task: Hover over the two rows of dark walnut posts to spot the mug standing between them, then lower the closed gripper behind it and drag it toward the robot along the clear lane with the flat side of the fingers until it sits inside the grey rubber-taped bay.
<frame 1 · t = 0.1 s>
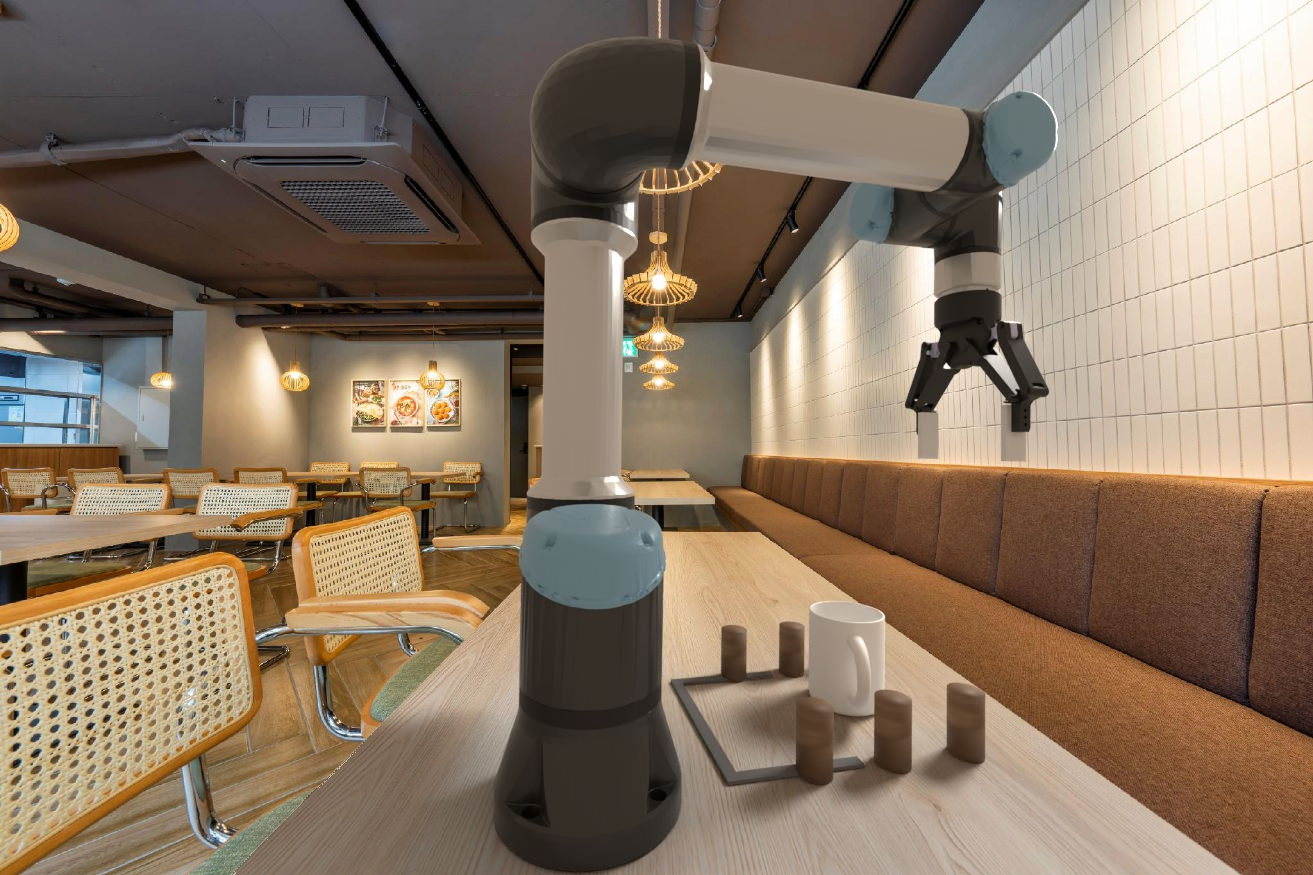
hand: (966, 460, 67), 28 cm above the table, fingers open, 13 cm apart
mug: (849, 710, 59), on the table
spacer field: (833, 709, 58), on the table
bay: (758, 717, 56), on the table
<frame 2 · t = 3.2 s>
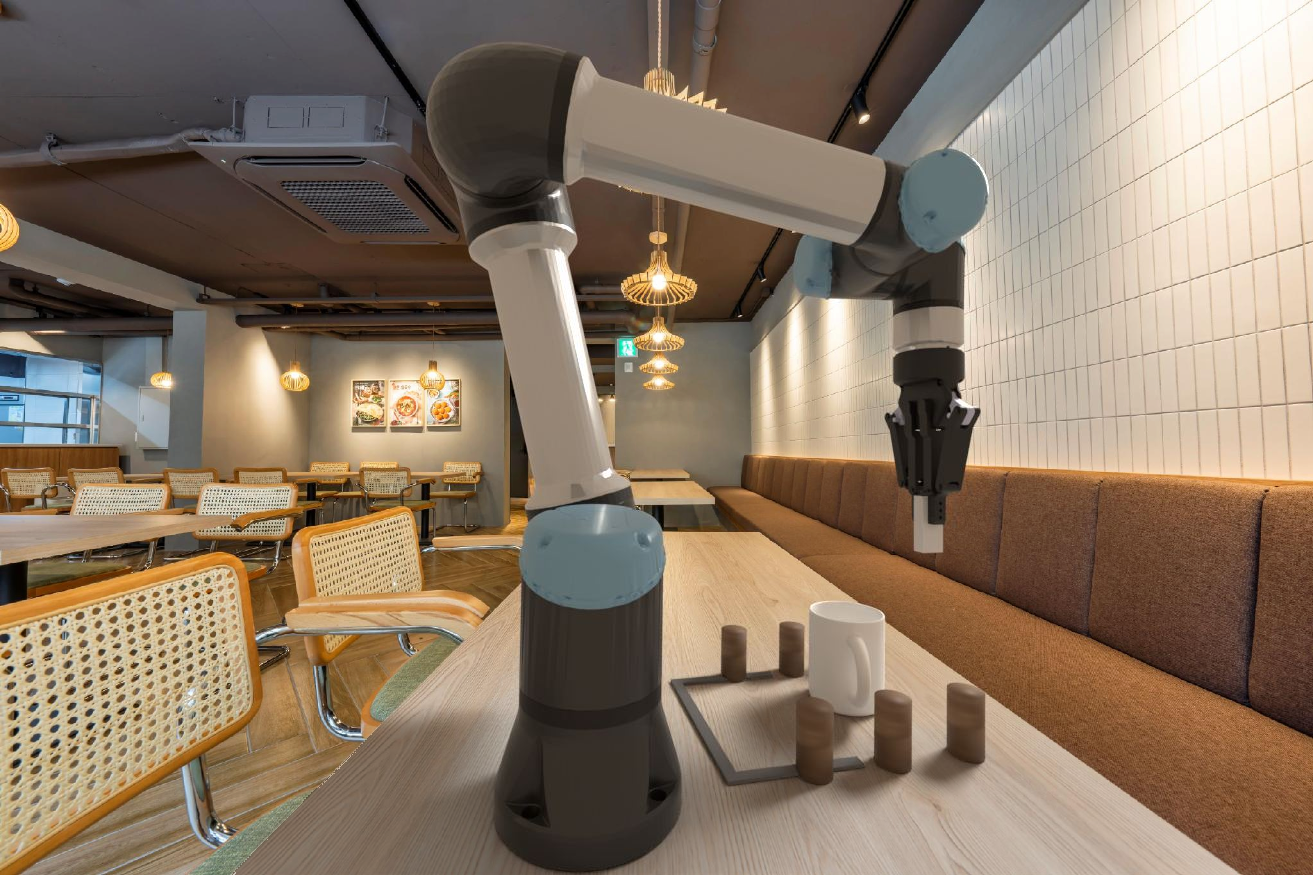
hand: (928, 551, 61), 17 cm above the table, fingers closed
nothing on the table moved.
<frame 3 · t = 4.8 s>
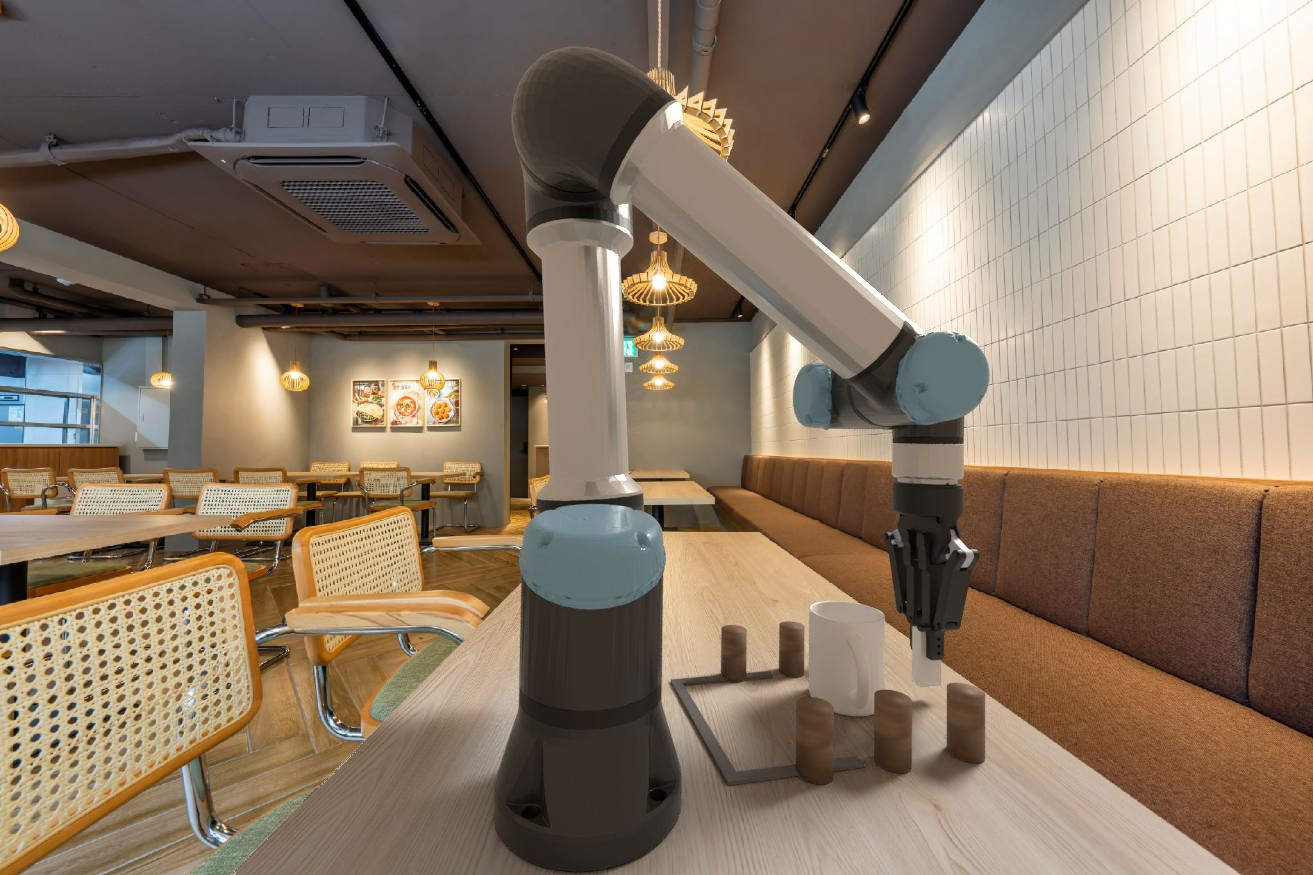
hand: (926, 683, 61), 2 cm above the table, fingers closed
nothing on the table moved.
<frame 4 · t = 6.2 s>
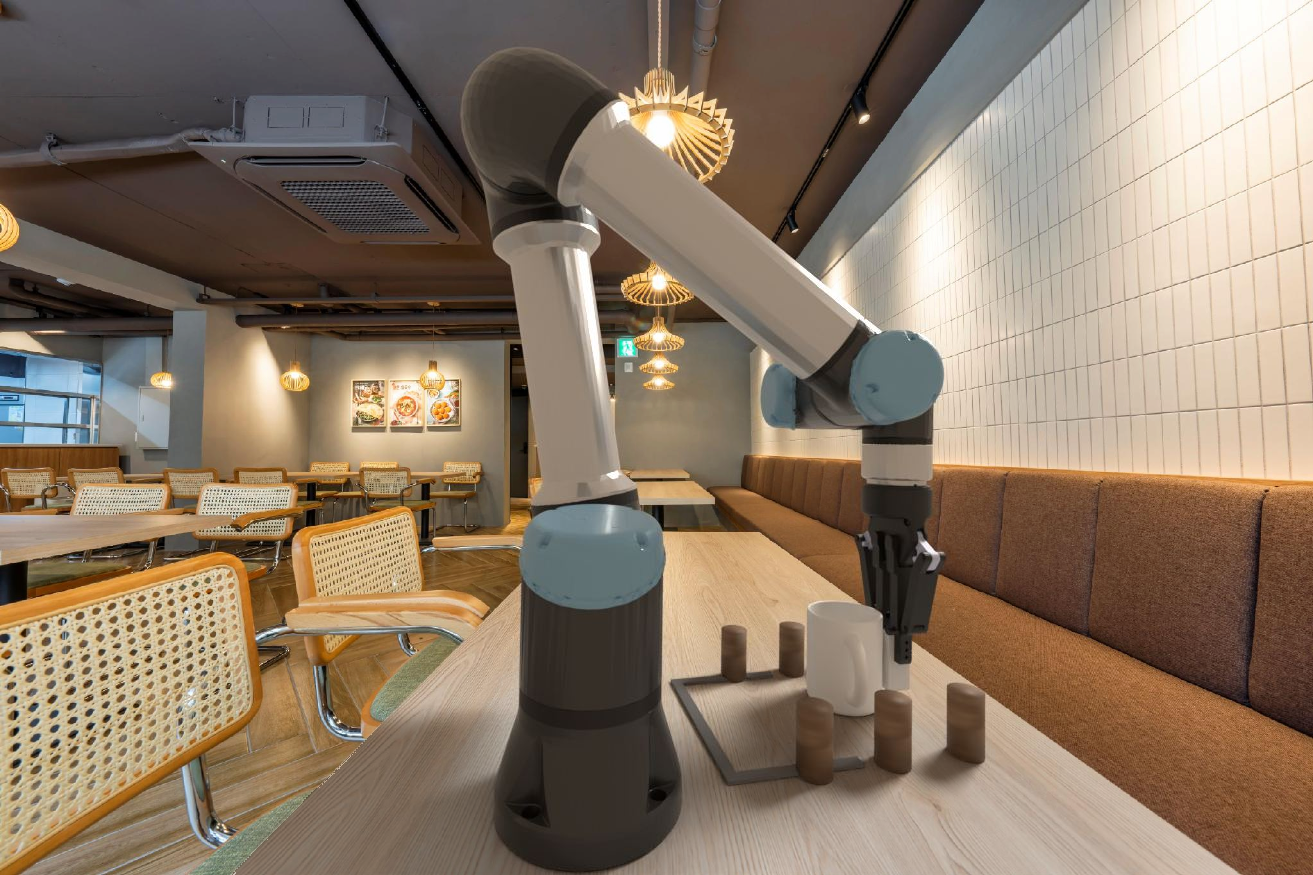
hand: (894, 687, 60), 2 cm above the table, fingers closed
mug: (847, 709, 59), on the table, touching gripper
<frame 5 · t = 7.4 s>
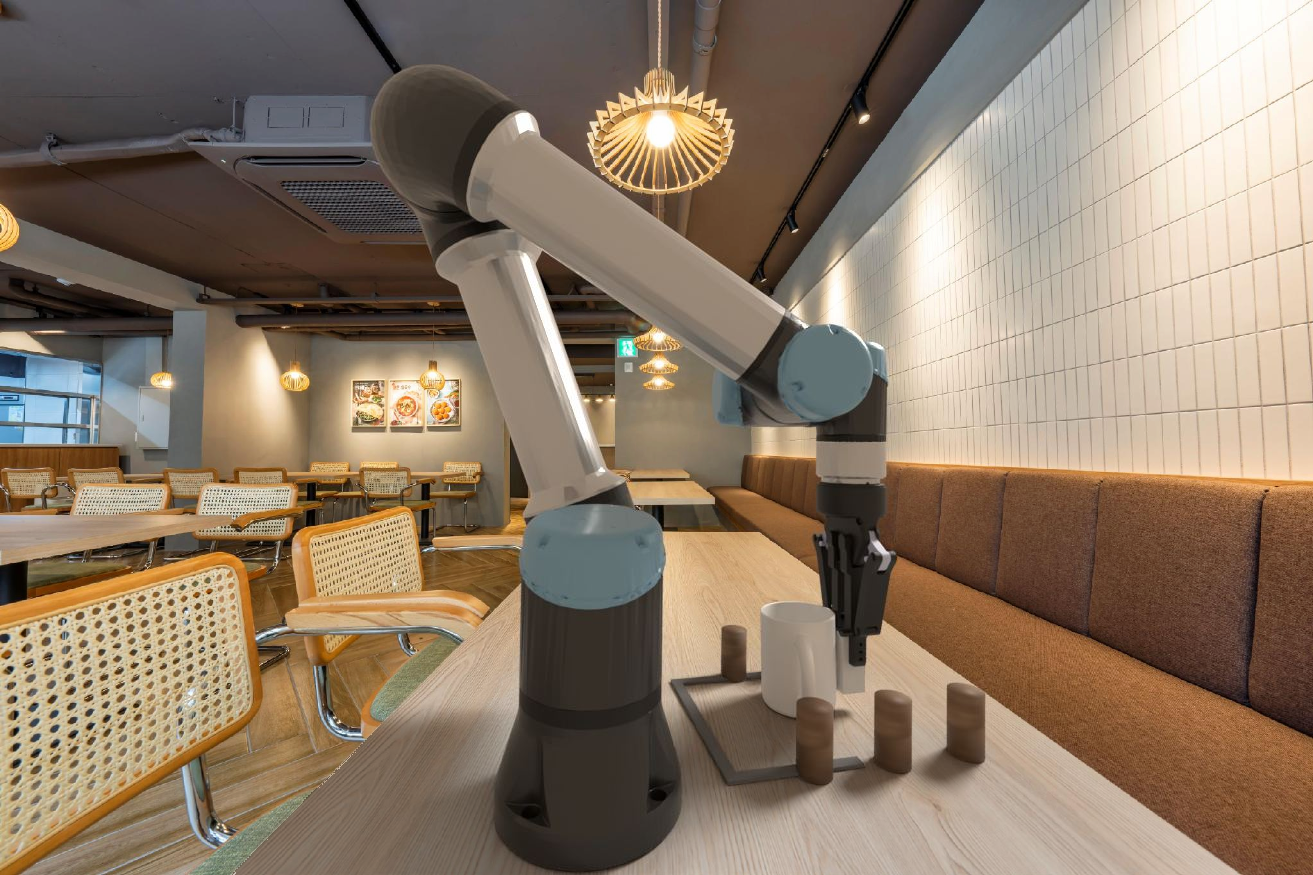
hand: (850, 690, 59), 2 cm above the table, fingers closed
mug: (800, 712, 58), on the table, touching gripper, hand
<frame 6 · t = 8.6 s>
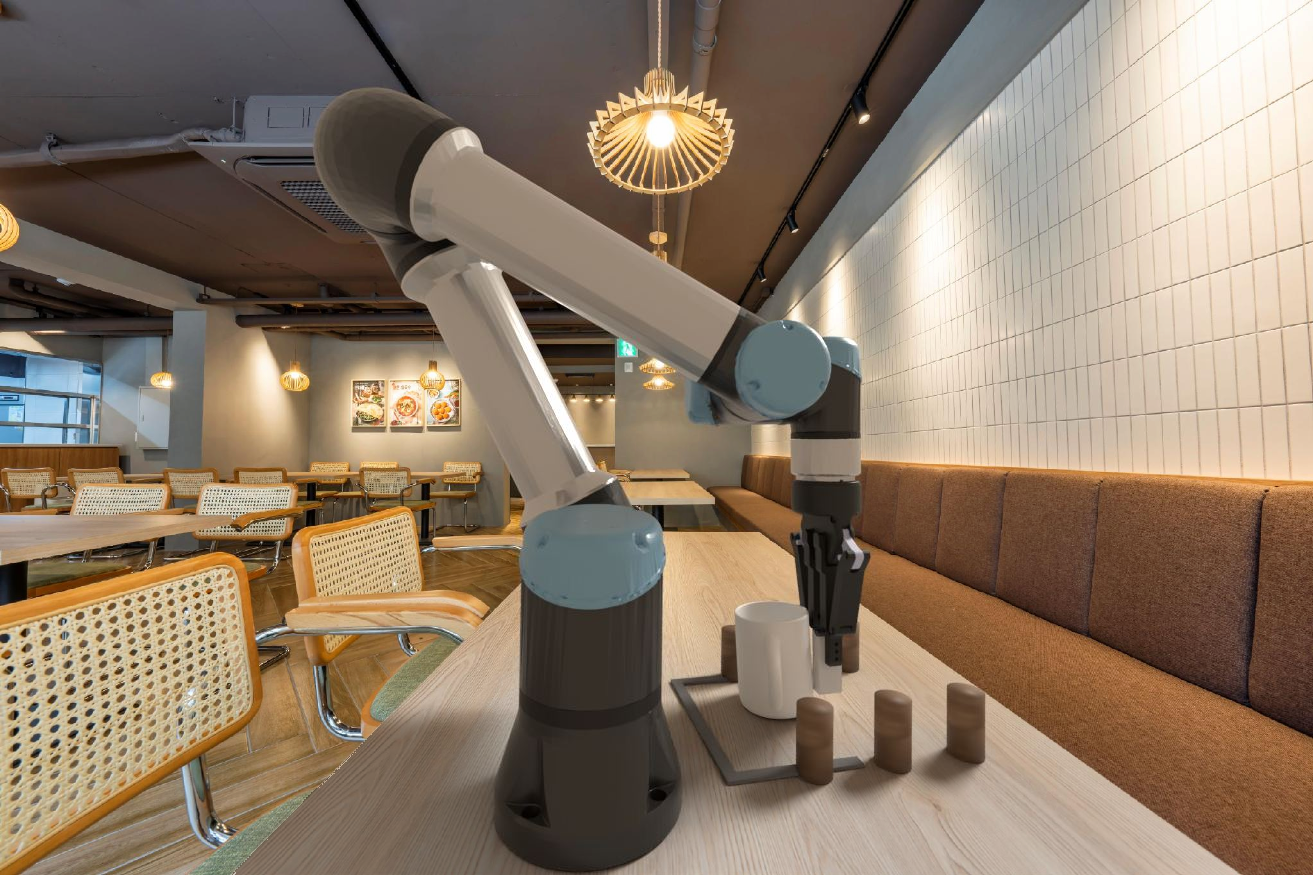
hand: (827, 690, 58), 2 cm above the table, fingers closed
mug: (776, 712, 57), on the table, touching gripper, hand
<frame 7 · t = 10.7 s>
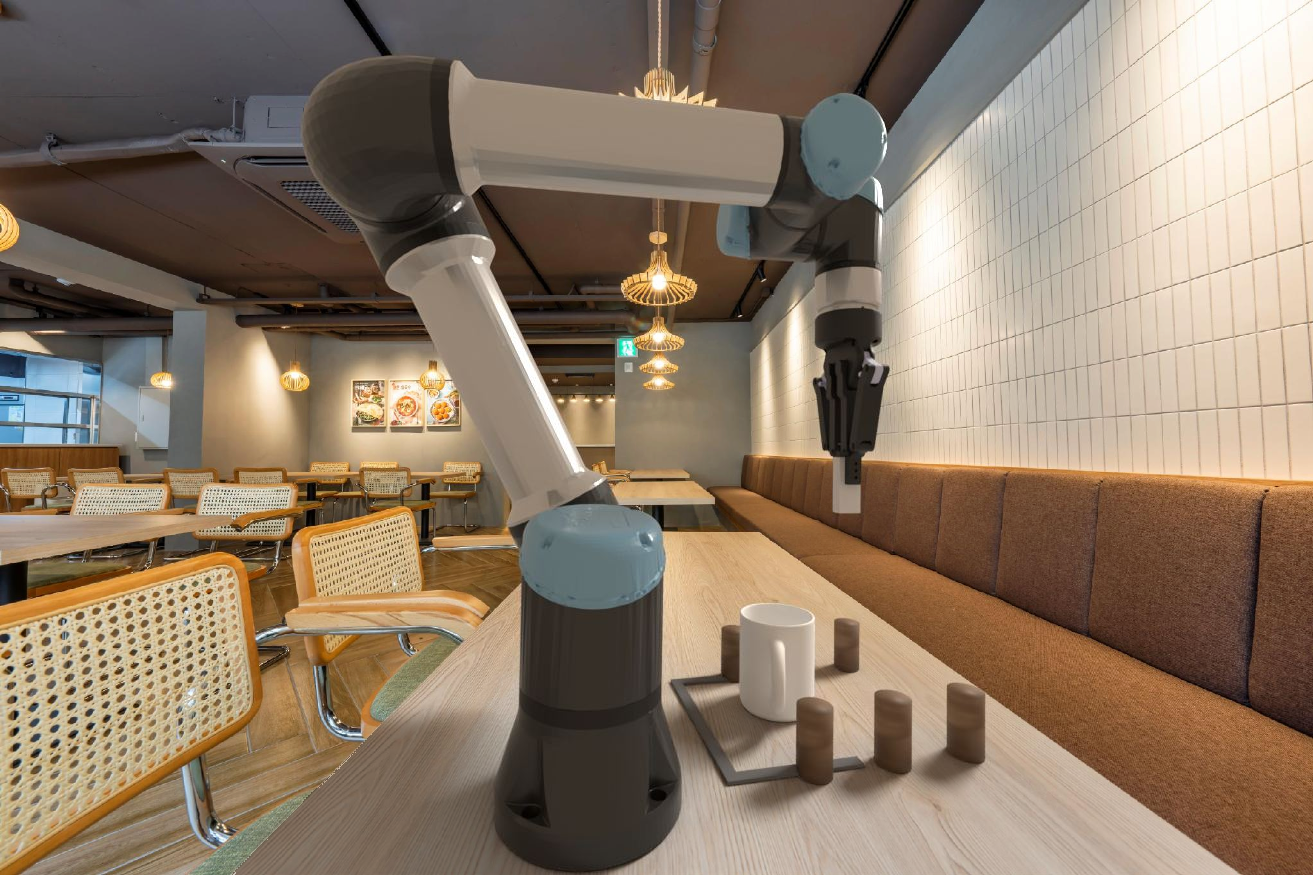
hand: (846, 512, 61), 22 cm above the table, fingers closed
mug: (776, 714, 57), on the table
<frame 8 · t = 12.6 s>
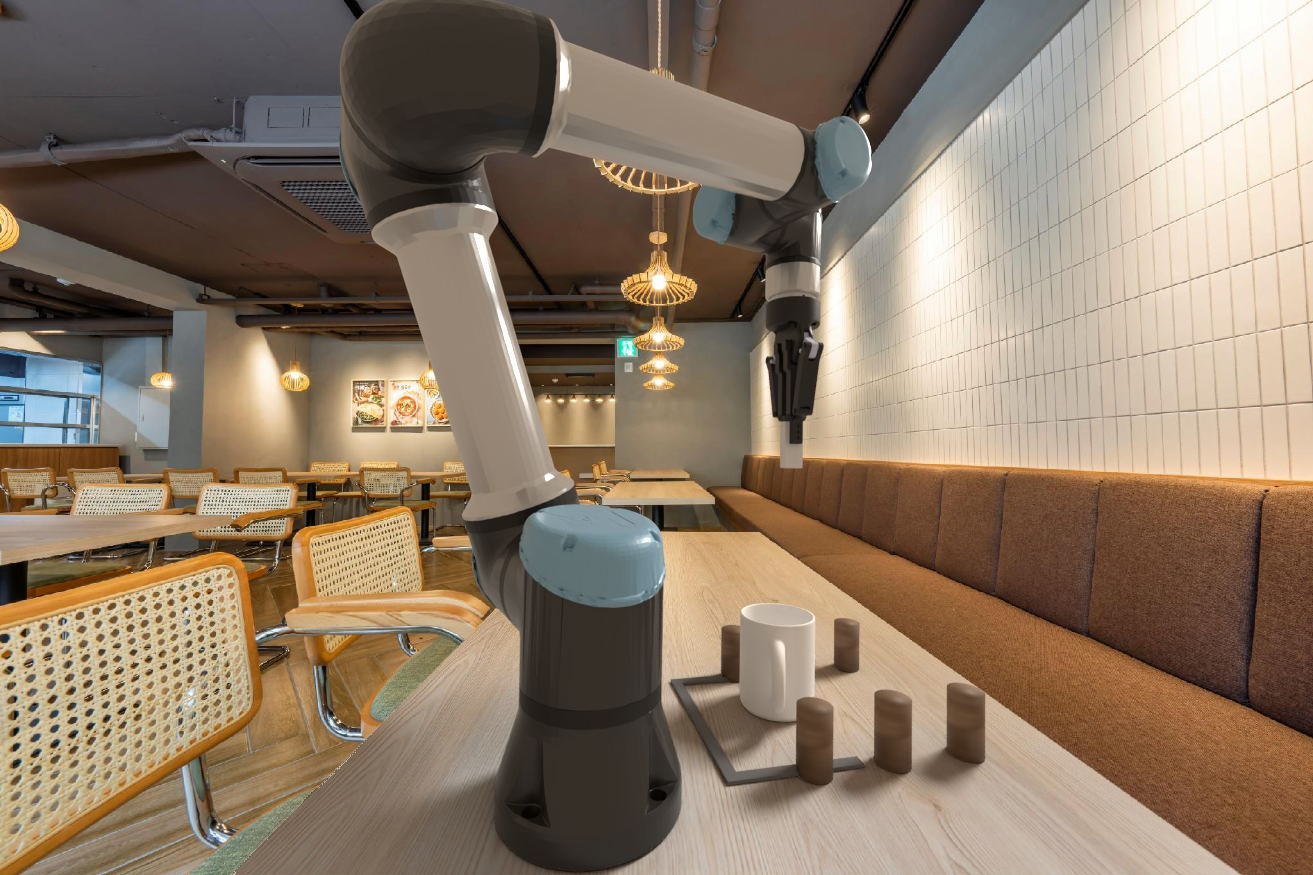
hand: (791, 467, 73), 26 cm above the table, fingers closed
nothing on the table moved.
at the end: mug inside the target area (1.5 cm from its centre), on the table; mug tilted 0°; the gripper is holding nothing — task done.
